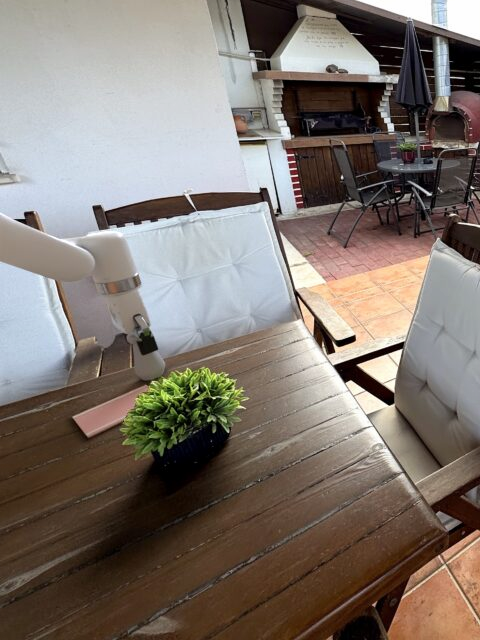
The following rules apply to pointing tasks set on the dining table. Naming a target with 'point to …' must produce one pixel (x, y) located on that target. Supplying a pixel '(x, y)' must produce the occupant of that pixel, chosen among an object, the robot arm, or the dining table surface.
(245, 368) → the dining table surface
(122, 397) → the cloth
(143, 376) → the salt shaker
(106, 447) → the dining table surface
